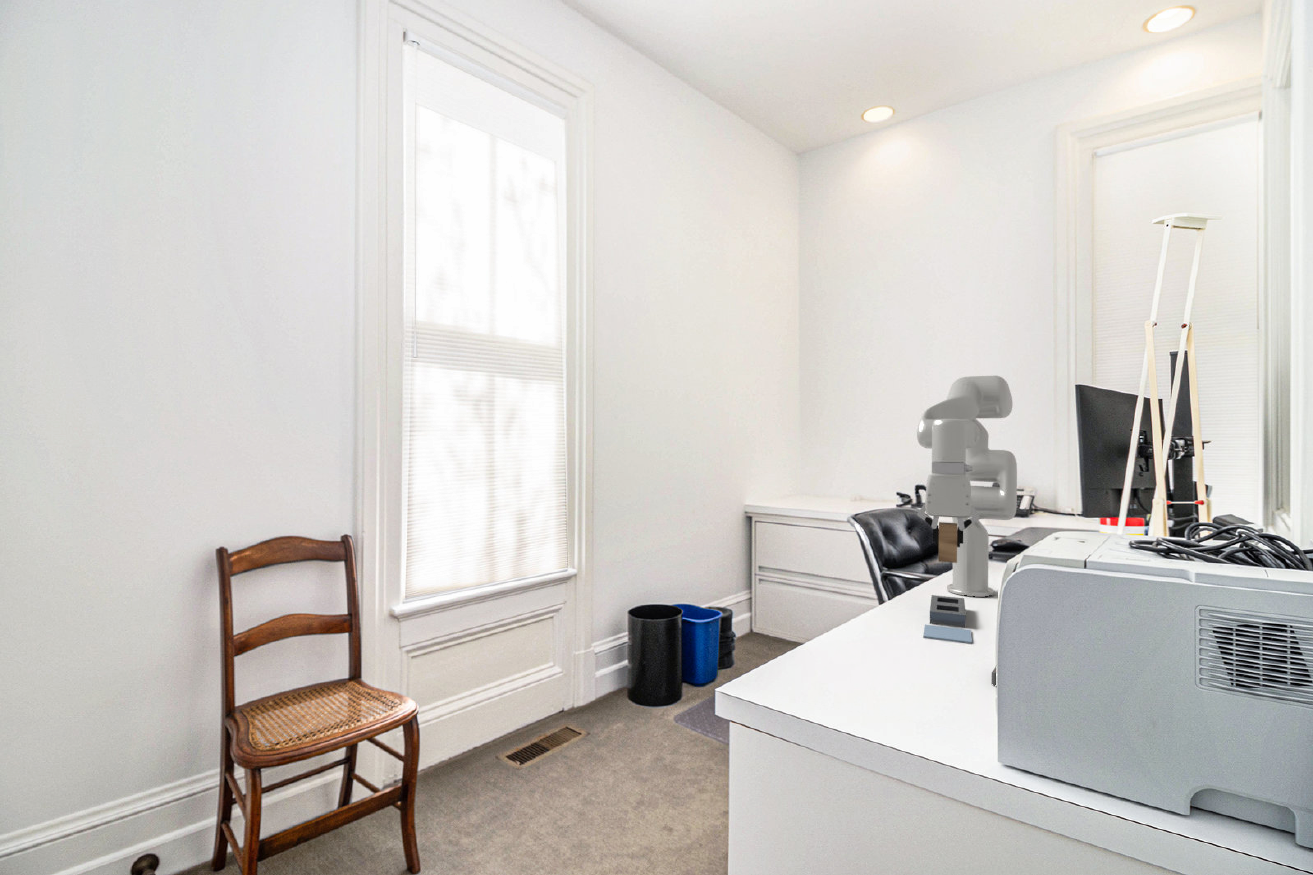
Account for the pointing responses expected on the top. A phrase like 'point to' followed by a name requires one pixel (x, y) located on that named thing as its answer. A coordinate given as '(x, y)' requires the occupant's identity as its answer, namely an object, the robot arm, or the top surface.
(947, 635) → the pad
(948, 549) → the plug
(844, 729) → the top surface
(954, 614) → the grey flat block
